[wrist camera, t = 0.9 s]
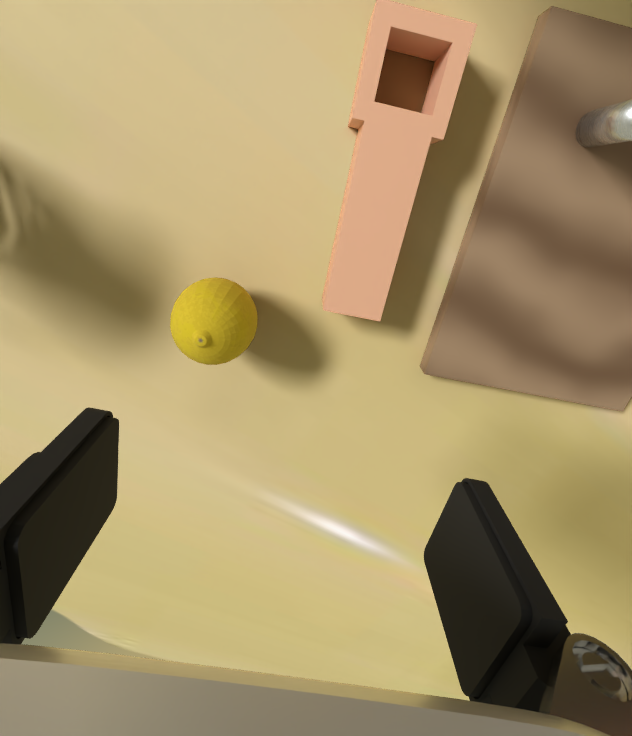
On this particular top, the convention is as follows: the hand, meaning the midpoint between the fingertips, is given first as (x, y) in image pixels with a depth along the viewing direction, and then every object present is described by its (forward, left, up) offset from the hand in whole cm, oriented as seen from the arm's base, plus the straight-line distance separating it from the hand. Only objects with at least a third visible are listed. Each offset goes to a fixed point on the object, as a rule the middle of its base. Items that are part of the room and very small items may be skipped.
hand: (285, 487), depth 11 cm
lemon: (+2, -6, -22) cm, 22 cm away
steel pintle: (-14, +15, -20) cm, 29 cm away
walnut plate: (-8, +19, -21) cm, 29 cm away
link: (-8, +3, -21) cm, 23 cm away
